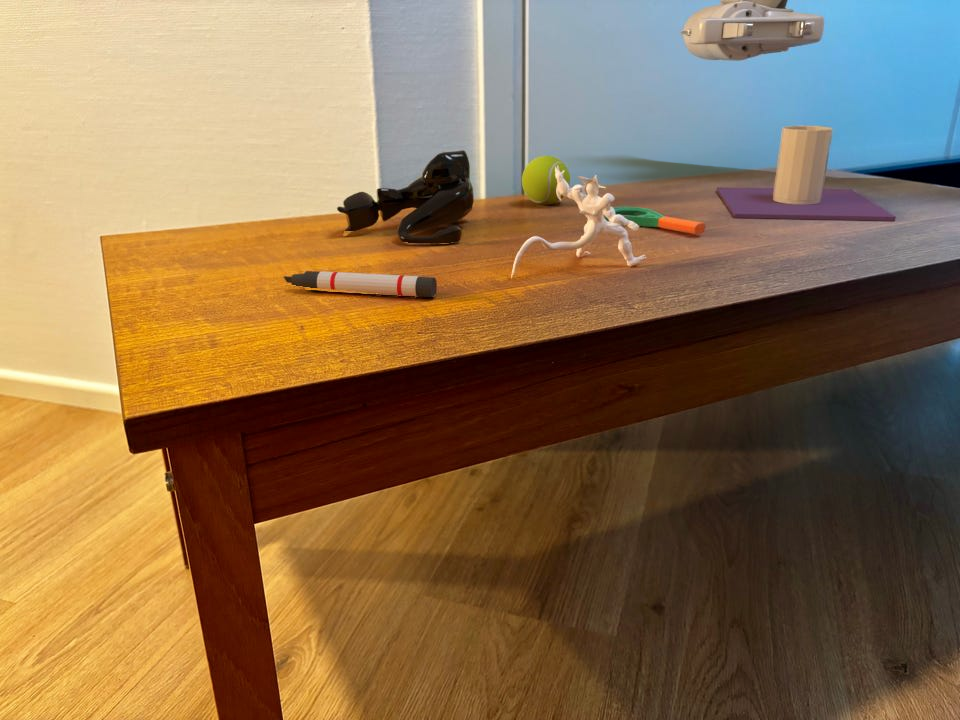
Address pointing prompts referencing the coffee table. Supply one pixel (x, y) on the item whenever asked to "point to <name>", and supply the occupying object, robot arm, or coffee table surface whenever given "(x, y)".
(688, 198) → the coffee table surface
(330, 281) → the marker
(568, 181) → the tennis ball
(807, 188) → the pen cup
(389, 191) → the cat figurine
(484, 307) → the coffee table surface
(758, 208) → the mat
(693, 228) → the magnifying glass
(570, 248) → the creature figurine
